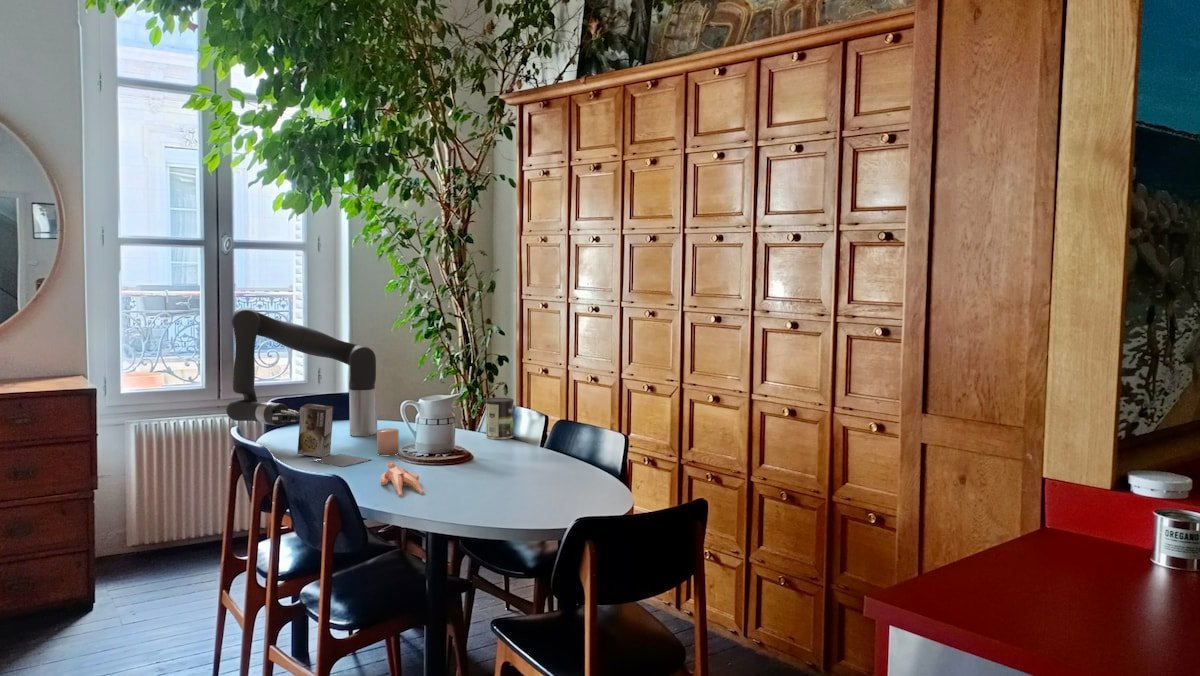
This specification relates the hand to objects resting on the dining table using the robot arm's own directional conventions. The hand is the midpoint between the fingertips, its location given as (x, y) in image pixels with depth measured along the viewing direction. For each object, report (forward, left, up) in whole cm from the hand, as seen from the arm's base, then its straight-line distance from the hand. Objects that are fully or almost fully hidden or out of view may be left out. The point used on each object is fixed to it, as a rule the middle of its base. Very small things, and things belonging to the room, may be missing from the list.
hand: (305, 418), depth 288 cm
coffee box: (0, +4, -12) cm, 12 cm away
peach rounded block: (-16, +22, -12) cm, 30 cm away
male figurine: (+12, +56, -13) cm, 58 cm away
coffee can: (-60, +34, -12) cm, 70 cm away
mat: (0, +17, -12) cm, 21 cm away
